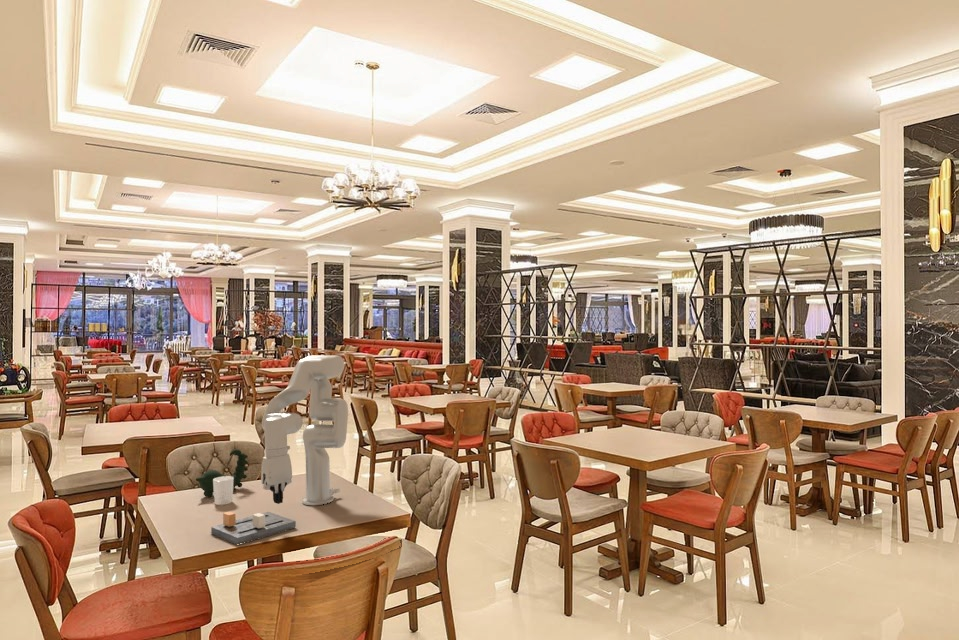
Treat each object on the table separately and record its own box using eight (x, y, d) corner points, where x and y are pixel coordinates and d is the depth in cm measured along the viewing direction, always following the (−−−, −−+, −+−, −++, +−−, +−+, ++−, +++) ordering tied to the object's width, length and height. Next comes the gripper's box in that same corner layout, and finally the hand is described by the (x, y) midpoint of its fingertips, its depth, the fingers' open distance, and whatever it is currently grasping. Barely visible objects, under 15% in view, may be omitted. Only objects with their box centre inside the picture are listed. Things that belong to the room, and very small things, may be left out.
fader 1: (229, 525, 220) (229, 511, 220) (235, 528, 217) (235, 513, 217) (223, 527, 218) (223, 513, 218) (229, 529, 216) (228, 515, 216)
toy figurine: (236, 489, 283) (187, 498, 261) (238, 447, 284) (190, 452, 263) (250, 491, 278) (201, 501, 257) (253, 449, 280) (204, 454, 258)
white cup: (237, 500, 259) (237, 476, 259) (227, 505, 251) (227, 481, 251) (219, 499, 260) (219, 476, 260) (209, 505, 252) (209, 480, 252)
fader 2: (259, 527, 218) (258, 512, 218) (265, 529, 215) (265, 515, 215) (252, 529, 216) (252, 514, 216) (258, 531, 213) (258, 516, 213)
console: (268, 518, 234) (268, 511, 234) (295, 528, 222) (295, 520, 222) (211, 534, 217) (211, 526, 217) (237, 545, 205) (237, 537, 205)
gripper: (288, 446, 229) (290, 495, 230) (251, 454, 218) (253, 506, 219) (300, 449, 224) (302, 499, 225) (262, 458, 213) (264, 510, 214)
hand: (278, 502), depth 222 cm, fingers closed
